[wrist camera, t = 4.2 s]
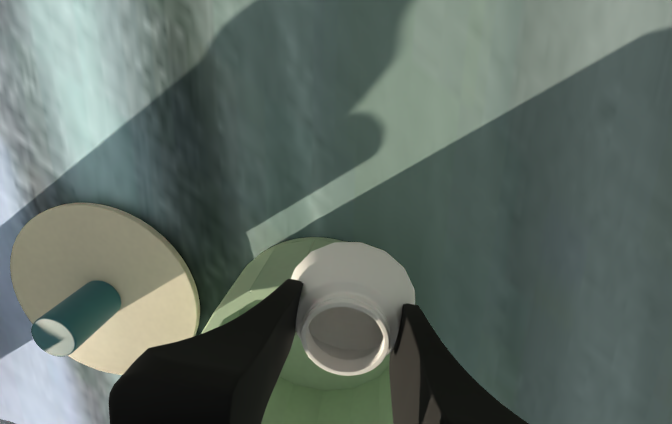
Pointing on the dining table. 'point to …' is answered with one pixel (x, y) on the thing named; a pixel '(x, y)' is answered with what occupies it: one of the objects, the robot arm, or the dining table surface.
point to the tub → (299, 370)
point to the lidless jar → (350, 306)
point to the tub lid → (101, 285)
